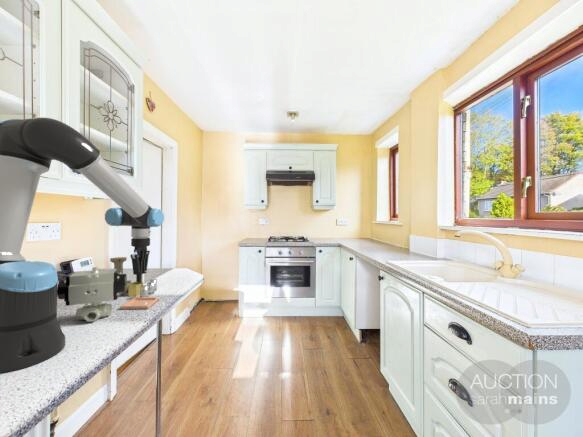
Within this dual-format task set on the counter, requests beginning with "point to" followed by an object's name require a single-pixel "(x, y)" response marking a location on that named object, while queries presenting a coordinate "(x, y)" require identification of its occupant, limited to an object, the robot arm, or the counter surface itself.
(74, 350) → the counter surface
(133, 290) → the nut
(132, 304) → the dish
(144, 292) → the spacers
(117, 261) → the handle
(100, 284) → the ball valve
